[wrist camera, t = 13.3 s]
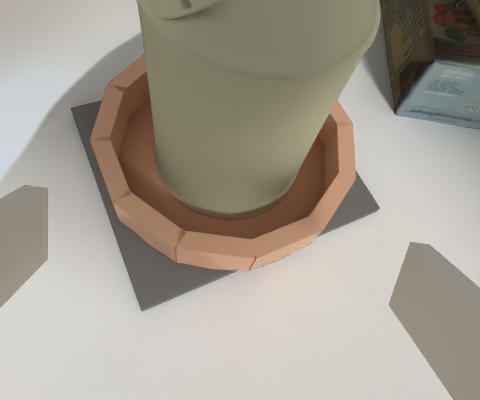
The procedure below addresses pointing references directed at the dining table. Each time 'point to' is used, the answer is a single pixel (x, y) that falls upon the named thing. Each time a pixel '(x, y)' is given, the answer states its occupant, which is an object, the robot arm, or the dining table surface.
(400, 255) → the dining table surface
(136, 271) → the mat
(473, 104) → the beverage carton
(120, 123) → the bowl
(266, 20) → the can
